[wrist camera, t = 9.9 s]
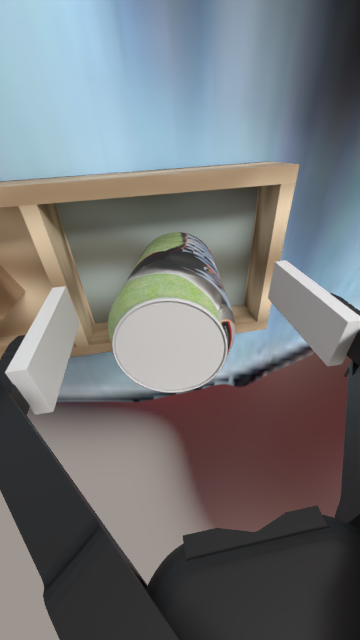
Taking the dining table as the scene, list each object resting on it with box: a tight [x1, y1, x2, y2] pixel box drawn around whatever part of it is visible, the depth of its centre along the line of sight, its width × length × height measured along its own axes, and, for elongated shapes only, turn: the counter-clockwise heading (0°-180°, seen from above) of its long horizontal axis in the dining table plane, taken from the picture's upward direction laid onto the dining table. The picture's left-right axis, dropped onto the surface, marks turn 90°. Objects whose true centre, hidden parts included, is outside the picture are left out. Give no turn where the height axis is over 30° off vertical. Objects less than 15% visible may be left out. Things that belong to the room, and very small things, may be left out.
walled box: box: [0, 162, 299, 359], centre depth 19 cm, size 13×30×4 cm, turn 93°
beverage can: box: [108, 232, 235, 393], centre depth 15 cm, size 6×7×12 cm
